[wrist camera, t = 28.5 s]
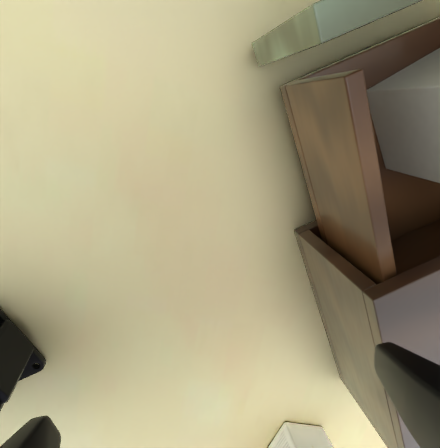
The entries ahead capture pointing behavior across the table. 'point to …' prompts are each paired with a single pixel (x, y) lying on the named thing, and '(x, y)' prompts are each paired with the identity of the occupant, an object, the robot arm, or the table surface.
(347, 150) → the drawer
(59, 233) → the table surface
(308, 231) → the cabinet
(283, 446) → the ink cartridge box
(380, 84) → the white block
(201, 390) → the table surface
